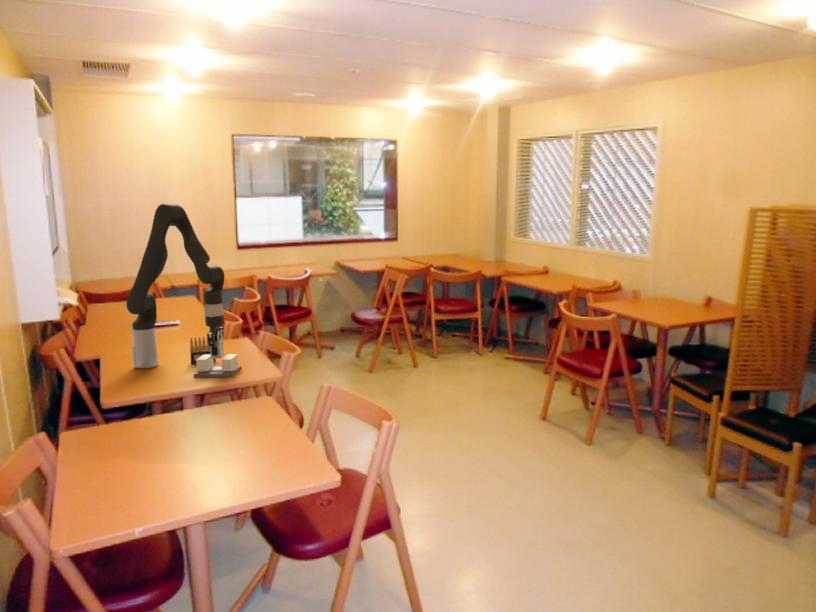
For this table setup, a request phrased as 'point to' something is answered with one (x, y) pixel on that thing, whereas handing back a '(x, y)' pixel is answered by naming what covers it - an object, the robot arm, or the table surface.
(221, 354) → the module block
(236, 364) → the mounted modules
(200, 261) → the robot arm
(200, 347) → the ammunition clip
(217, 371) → the mounting plate
